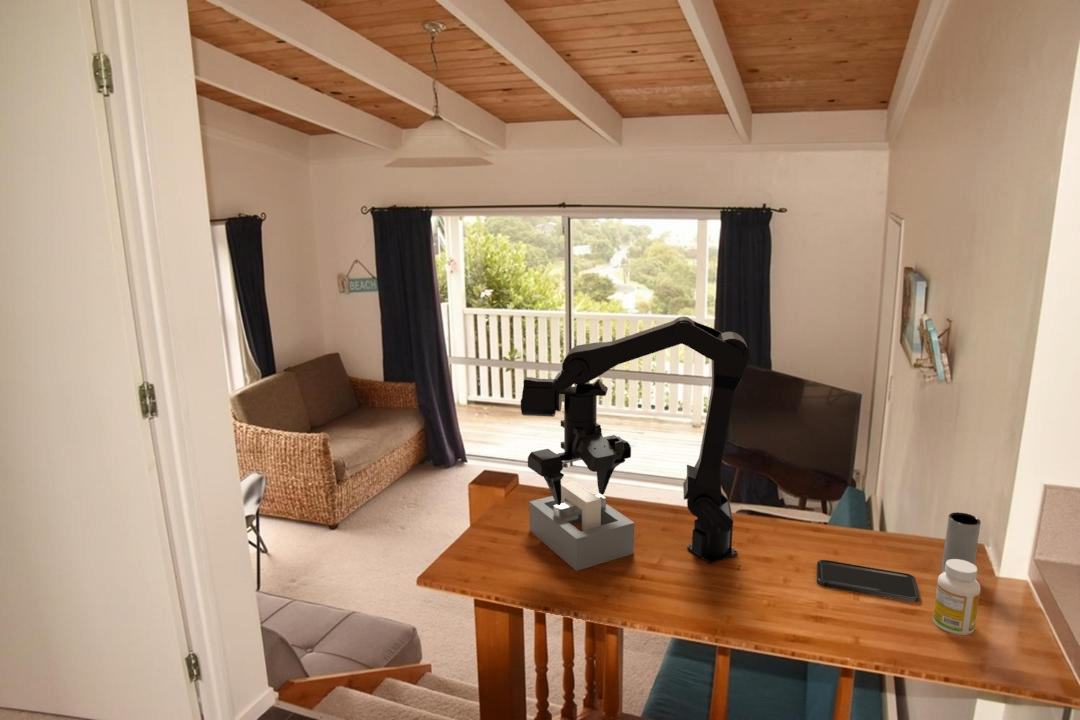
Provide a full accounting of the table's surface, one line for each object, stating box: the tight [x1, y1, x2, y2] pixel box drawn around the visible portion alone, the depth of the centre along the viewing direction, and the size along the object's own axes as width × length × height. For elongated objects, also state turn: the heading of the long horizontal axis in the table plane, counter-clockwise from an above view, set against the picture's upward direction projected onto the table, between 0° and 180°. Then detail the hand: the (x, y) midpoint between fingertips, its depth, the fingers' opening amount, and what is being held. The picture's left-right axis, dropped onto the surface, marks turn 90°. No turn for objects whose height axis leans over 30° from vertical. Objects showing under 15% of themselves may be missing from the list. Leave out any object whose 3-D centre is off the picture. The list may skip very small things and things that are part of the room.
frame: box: [528, 495, 635, 572], centre depth 129 cm, size 12×17×6 cm
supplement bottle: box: [932, 559, 981, 636], centre depth 103 cm, size 5×5×10 cm
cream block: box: [561, 480, 601, 531], centre depth 128 cm, size 3×9×7 cm, turn 29°
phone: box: [816, 559, 920, 603], centre depth 115 cm, size 8×1×15 cm
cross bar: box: [554, 493, 607, 520], centre depth 128 cm, size 10×2×2 cm, turn 119°
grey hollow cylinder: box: [941, 512, 982, 574], centre depth 116 cm, size 4×4×10 cm
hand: (580, 499), depth 128 cm, fingers open, 9 cm apart
